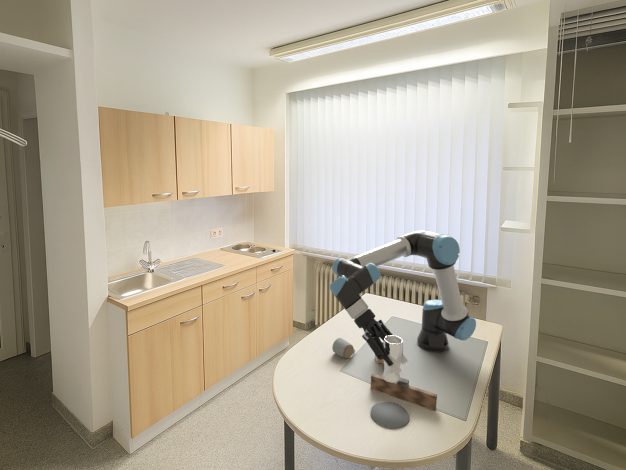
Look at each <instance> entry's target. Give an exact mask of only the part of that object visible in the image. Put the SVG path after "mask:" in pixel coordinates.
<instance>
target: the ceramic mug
mask: <svg viewBox="0 0 626 470" xmlns="http://www.w3.org/2000/svg"><path fill="white" fill-rule="evenodd" d="M331 349H332V352H334V353H335V354H337V355H338V356H339V357H341V358H343V359H349V358H351V357H352V356H353V354H355V352H356V349H355V348H354V345H353V344H351V343H350V342H348V341H347V340H346V339H344V338H342V337H338V338H336V339H335V340H334V341H333V343H332V348H331Z"/></svg>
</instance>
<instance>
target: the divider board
mask: <svg viewBox="0 0 626 470" xmlns="http://www.w3.org/2000/svg"><path fill="white" fill-rule="evenodd" d="M370 389H371V390H373V391H376V392H379V393H381V394H384V395H388V396H390V397H393V398H396V399H399V400H402V401H404V402H405V401H406V402H408V403H410V404H413V405H416V406H420V407H421V408H426V409H428V410H430V411H433V412H436V409H437V404H438V403H437V401H438V394H436V393H434V392H430V391H427V390H425V389H421V388H419V387H414V386H413V385H410V380H409V379H407V378H404V377H401V376H400V380H399V381H398V382H396V383H390V382H387V381H385V380H384V379H383V376H381V375H379V374H374V373H372V374H371V375H370Z"/></svg>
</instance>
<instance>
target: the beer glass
mask: <svg viewBox="0 0 626 470" xmlns="http://www.w3.org/2000/svg"><path fill="white" fill-rule="evenodd" d="M383 346H384V348H385V350H386V352H387V354H388V355H390V356H391V357H392V358H393V359H394V360H395V362H396V363H397V364H398V366H399V367H400V368H401V365H402V364H401V360H402V356H403V354H404V340H403V338H402V337H400V336H397V335H390V336H386V337H385V338H384V344H383ZM383 365H384V366H383V367H384V370H383V373H382V377H383V379H384V380H385V381H387V382H390V383H396V382H398V381H399V380H400V377H401V376H400V372H399V373H397V374H395V373H394V372H393V371H392V369H391V368H390V367H389V366H388V364H387V363H386V362H385V360H384V363H383Z"/></svg>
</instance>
